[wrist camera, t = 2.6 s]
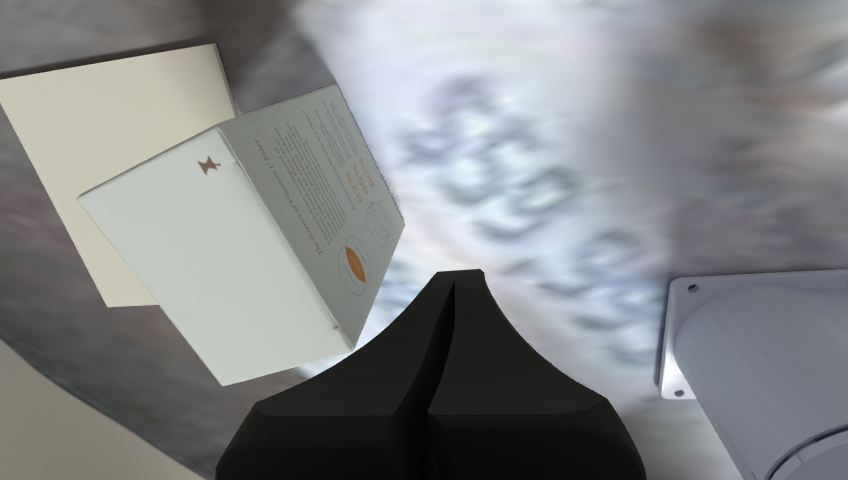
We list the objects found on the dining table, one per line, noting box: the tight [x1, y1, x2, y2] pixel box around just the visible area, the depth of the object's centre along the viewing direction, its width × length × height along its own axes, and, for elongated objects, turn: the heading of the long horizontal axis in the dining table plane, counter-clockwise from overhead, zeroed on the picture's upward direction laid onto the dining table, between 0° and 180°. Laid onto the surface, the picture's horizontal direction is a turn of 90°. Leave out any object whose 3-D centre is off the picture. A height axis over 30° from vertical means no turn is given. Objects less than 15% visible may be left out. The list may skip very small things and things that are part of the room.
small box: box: [77, 84, 405, 386], centre depth 18 cm, size 8×6×10 cm
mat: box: [0, 44, 238, 307], centre depth 24 cm, size 13×14×1 cm
